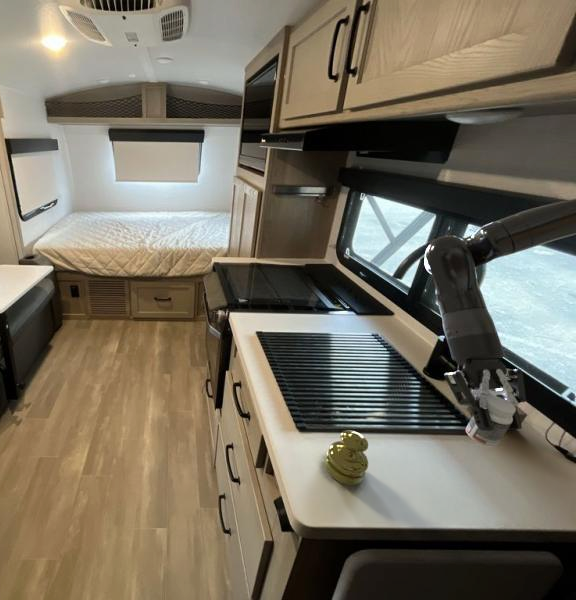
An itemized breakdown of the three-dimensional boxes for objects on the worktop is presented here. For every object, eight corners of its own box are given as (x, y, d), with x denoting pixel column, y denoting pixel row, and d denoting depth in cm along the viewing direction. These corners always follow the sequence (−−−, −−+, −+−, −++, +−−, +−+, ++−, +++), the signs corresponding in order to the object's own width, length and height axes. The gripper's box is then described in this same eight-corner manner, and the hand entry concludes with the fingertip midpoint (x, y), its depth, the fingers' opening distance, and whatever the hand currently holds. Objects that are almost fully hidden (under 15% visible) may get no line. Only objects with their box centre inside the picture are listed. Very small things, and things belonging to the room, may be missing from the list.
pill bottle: (504, 446, 61) (527, 412, 57) (481, 448, 60) (503, 415, 56) (480, 425, 65) (500, 393, 61) (458, 427, 64) (477, 395, 60)
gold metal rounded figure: (317, 455, 73) (328, 422, 68) (349, 453, 74) (362, 420, 69) (335, 487, 66) (348, 453, 62) (370, 485, 67) (385, 450, 63)
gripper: (453, 332, 60) (484, 433, 55) (525, 329, 61) (561, 428, 56) (421, 340, 67) (445, 430, 62) (485, 337, 68) (514, 426, 63)
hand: (500, 429), depth 59 cm, fingers closed on pill bottle, 4 cm apart
